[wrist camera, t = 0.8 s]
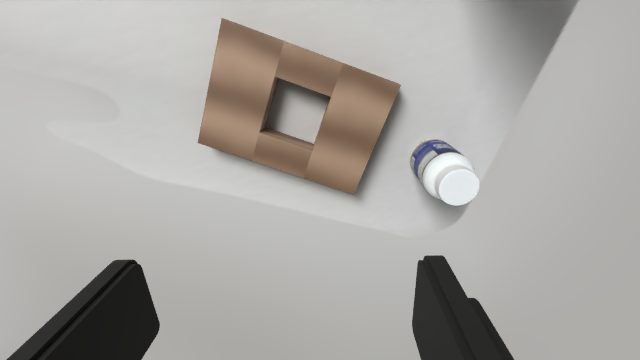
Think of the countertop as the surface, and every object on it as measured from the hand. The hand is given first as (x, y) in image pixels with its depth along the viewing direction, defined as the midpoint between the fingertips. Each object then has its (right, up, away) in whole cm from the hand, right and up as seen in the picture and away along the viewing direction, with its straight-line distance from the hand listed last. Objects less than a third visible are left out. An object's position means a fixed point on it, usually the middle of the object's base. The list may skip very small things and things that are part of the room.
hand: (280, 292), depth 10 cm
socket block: (-1, +12, +27) cm, 30 cm away
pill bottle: (+16, +7, +29) cm, 34 cm away
